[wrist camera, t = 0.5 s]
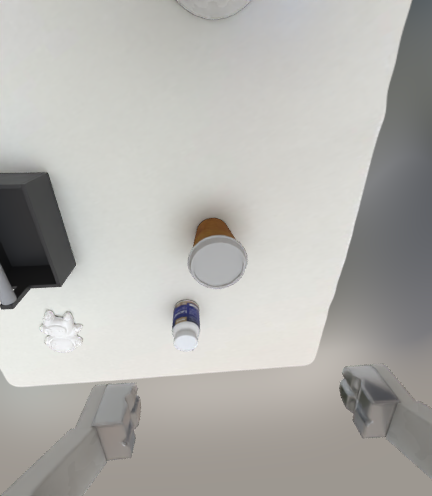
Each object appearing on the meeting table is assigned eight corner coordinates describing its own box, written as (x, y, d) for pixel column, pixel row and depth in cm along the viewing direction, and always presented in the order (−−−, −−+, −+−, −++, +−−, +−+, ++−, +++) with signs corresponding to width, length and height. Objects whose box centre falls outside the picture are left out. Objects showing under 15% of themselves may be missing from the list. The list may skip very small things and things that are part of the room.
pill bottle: (183, 294, 58) (182, 329, 49) (204, 306, 60) (206, 340, 51) (168, 311, 59) (165, 346, 51) (189, 321, 62) (189, 357, 53)
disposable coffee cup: (197, 259, 53) (199, 297, 43) (180, 218, 49) (178, 250, 38) (241, 246, 53) (254, 281, 42) (229, 203, 48) (241, 231, 38)
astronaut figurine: (83, 312, 57) (78, 322, 55) (82, 349, 63) (78, 360, 60) (39, 307, 56) (32, 317, 53) (43, 346, 61) (36, 357, 58)
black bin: (-32, 173, 42) (-105, 197, 31) (47, 171, 43) (2, 194, 32) (11, 268, 50) (-35, 311, 40) (76, 265, 51) (47, 307, 41)
